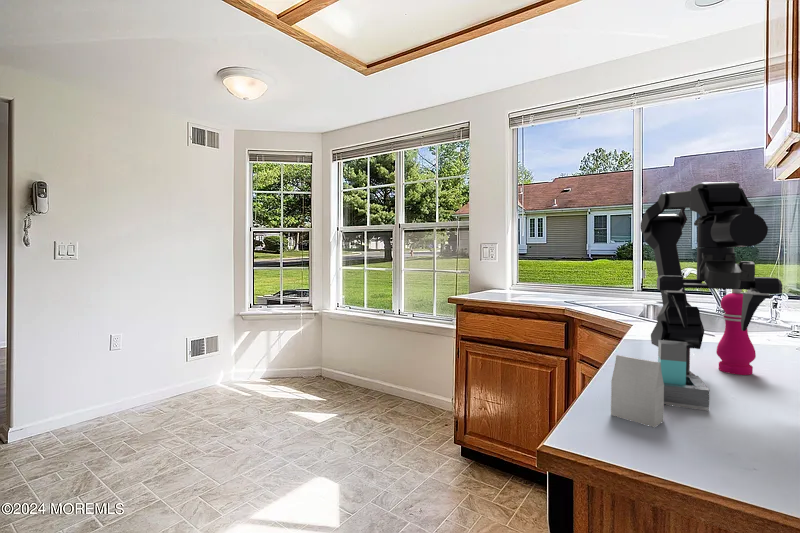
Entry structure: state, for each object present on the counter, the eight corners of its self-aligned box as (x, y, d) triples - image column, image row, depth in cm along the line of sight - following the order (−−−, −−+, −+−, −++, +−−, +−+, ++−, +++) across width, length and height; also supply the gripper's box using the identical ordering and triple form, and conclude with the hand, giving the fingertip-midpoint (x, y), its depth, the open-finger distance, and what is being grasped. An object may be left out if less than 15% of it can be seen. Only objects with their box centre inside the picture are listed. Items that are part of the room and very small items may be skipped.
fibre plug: (657, 390, 83) (658, 339, 83) (681, 393, 82) (682, 341, 82) (660, 396, 80) (661, 343, 80) (685, 399, 78) (686, 345, 78)
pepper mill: (747, 369, 102) (748, 285, 101) (761, 377, 95) (763, 288, 94) (711, 366, 104) (712, 285, 104) (722, 374, 97) (724, 287, 97)
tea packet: (654, 427, 67) (655, 364, 67) (610, 415, 72) (611, 356, 72) (663, 421, 69) (664, 361, 69) (620, 410, 75) (621, 353, 74)
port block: (639, 387, 87) (639, 369, 87) (697, 394, 83) (698, 375, 83) (643, 402, 78) (643, 382, 78) (709, 410, 74) (709, 390, 74)
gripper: (663, 247, 78) (662, 331, 79) (795, 246, 70) (793, 340, 71) (657, 248, 88) (655, 323, 89) (771, 247, 80) (770, 330, 81)
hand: (713, 328), depth 82 cm, fingers open, 9 cm apart
